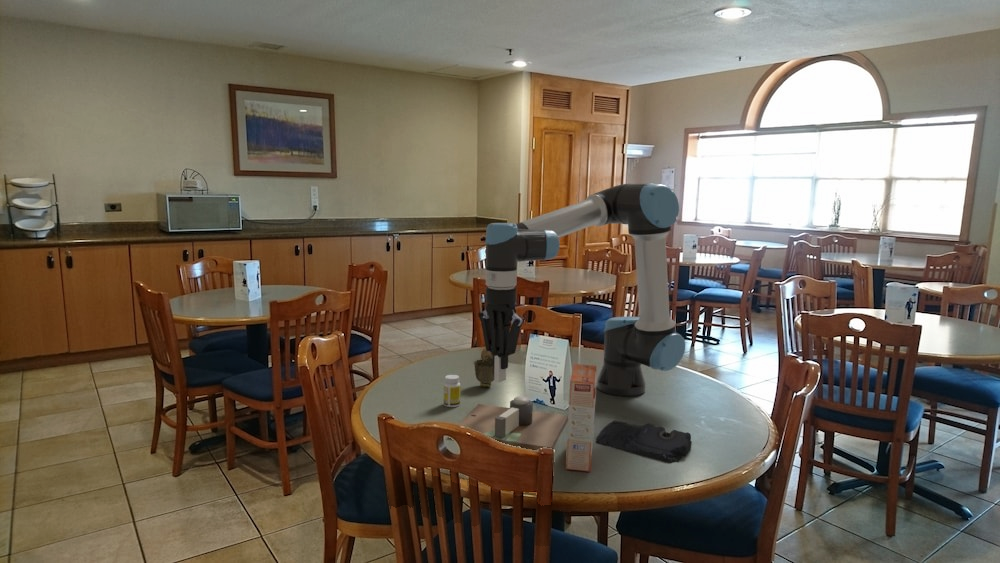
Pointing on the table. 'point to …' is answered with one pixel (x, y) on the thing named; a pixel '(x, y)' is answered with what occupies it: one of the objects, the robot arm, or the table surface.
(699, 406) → the table surface
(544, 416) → the brown flat panel
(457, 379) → the supplement bottle
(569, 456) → the cracker box
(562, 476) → the table surface
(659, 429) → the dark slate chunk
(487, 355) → the bread roll
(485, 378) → the cup
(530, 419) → the peg dial
